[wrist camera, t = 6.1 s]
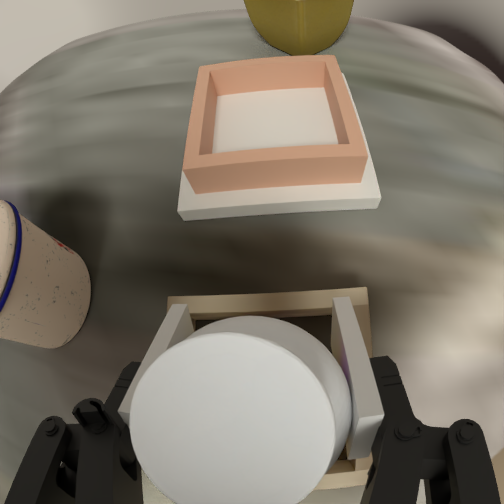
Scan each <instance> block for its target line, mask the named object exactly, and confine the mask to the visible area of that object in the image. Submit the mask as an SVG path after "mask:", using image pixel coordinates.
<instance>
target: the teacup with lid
mask: <svg viewBox="0 0 504 504" xmlns="http://www.w3.org/2000/svg"><path fill="white" fill-rule="evenodd" d="M90 296H91V284H90V277H89V273H88V270H87V267H86V265H85V263H84V261H83V260H82V258H81V257H80V256H79V255H78V254H77V253H76V252H74V251H73V250H71V249H70V248H68V247H67V246H65V245H64V244H62V243H61V242H59V241H58V240H56V239H55V238H53V237H52V236H50V235H49V234H47V233H46V232H44V231H43V230H42V229H40V228H39V227H37V226H36V225H34V224H33V223H32V222H30V221H29V220H27V219H26V218H25V217H23V216H22V215H20V214H19V213H18V211H17V209H16V207H15V206H14V205H13V204H12V203H10V202H8V201H3V200H0V338H3V339H7V340H11V341H16V342H20V343H24V344H29V345H33V346H38V347H43V348H50V349H52V348H57V347H60V346H63V345H64V344H66V343H68V342H69V341H70V340H71V339H72V338H73V337H74V336H75V335H76V334H77V332H78V331H79V330H80V328H81V326H82V324H83V322H84V320H85V318H86V315H87V312H88V308H89V304H90Z"/></svg>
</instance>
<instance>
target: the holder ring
mask: <svg viewBox="0 0 504 504" xmlns="http://www.w3.org/2000/svg"><path fill="white" fill-rule="evenodd" d="M348 296H349V297H350V300H351V303H352V306H353V309H354V312H355V315H356V318H357V321H358V325H359V328H360V331H361V334H362V337H363V340H364V344H365V347H366V350H367V354H368V357H369V358H373V354H372V338H371V325H370V314H369V303H368V294H367V287H358V288H345V289H331V290H316V291H300V292H282V293H261V294H238V295H209V296H168V301H167V313H168V311H169V309H170V307H171V306H172V304H187V305H188V309H189V313H190V317H191V321H192V325H193V329H194V332H195V326H196V320H223V319H227V318H232V317H238V316H263V317H270V318H285V317H304V316H319V315H332V303H333V298H335V297H348ZM372 462H373V458H372V452H370V455H369V457H365V458H358V459H351V460H339V461H336V462H335V463H334V465H333V466H332V467H331V468H330V469H329V471H328V472H327V473H326V474H325V475H324V476H323V477H322V479H321V481H320V482H319V483H318V484H317V486H316V487H315V488H314V489H313V490H324V489H335V488H344V487H352V486H359V485H366V482H367V479H368V475H367V473H368V471H369V469H370V467H371V464H372Z"/></svg>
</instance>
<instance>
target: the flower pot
mask: <svg viewBox="0 0 504 504" xmlns="http://www.w3.org/2000/svg"><path fill="white" fill-rule="evenodd" d="M353 2H354V0H244V3H245V5H246V9H247V12H248V14H249V17H250V19H251V21H252V23H253V25H254V27H255V28H256V30H257V31H258V32H259V33H260V35H261V36H262V37H263V38H264V39H265V40H266V41H267V42H268V43H269V44H270V45H271V46H273V47H276V48H278V49H280V50H282V51H284V52H286V53H288V54H290V55H292V56H304V55H313V54H315V53H317V52H319V51H322V50H324V49H326V48H328V47H330V46H331V45H332V44H333V43H334V42H335V41H336V40H337V39H338V38H339V36H340V35H341V34H342V32H343V31H344V29H345V28H346V26H347V23H348V21H349V18H350V15H351V11H352V6H353Z"/></svg>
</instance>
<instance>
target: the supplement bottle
mask: <svg viewBox="0 0 504 504" xmlns="http://www.w3.org/2000/svg"><path fill="white" fill-rule="evenodd" d="M351 420H352V402H351V394H350V390H349V386H348V383H347V380H346V377H345V375H344V373H343V371H342V369H341V367H340V365H339V364H338V362H337V361H336V359H335V358H334V356H333V355H332V354H331V353H330V351H329V350H328V349H327V348H326V347H325V346H324V345H323V344H322V343H321V342H320V341H319V340H317V339H316V338H315V337H314V336H312V335H311V334H309V333H308V332H306V331H305V330H303V329H301V328H300V327H298V326H295V325H293V324H291V323H288V322H285V321H282V320H279V319H275V318H270V317H263V316H238V317H232V318H227V319H223V320H220V321H216V322H214V323H211V324H209V325H206V326H204V327H202V328H201V329H199V330H197V331H195V332H194V333H192V334H191V335H190V336H188V337H187V338H186V339H185V340H183V341H181V342H179V343H177V344H175V345H174V346H172V347H170V348H169V349H167V350H166V351H164V352H163V353H162V354H161V355H160V356H159V357H157V358H156V359H155V361H154V362H153V363H152V364H151V365H150V366H149V367H148V369H147V370H146V371H145V373H144V374H143V376H142V377H141V379H140V381H139V383H138V385H137V387H136V389H135V392H134V396H133V399H132V403H131V409H130V435H131V441H132V445H133V449H134V452H135V454H136V457H137V459H138V461H139V463H140V465H141V467H142V469H143V471H144V472H145V474H146V475H147V476H148V478H149V479H150V481H151V482H152V483H153V484H154V485H155V486H156V488H157V489H158V490H160V491H161V492H162V493H163V494H164V495H165V496H166V497H167V498H169V499H170V500H172V501H173V502H174V503H176V504H298V503H299V502H300V501H302V500H303V499H304V498H305V497H306V496H307V495H308V494H309V493H310V492H311V491H312V490H313V489H314V488H315V487H316V486H317V484H318V483H319V482H320V481H321V479H322V477H323V476H324V475H325V474H326V473H327V472H328V471H329V469H330V468H331V467H332V466H333V465H334V463H335V462H336V460H337V459H338V457H339V456H340V454H341V452H342V450H343V448H344V446H345V443H346V441H347V438H348V435H349V431H350V426H351Z"/></svg>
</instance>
